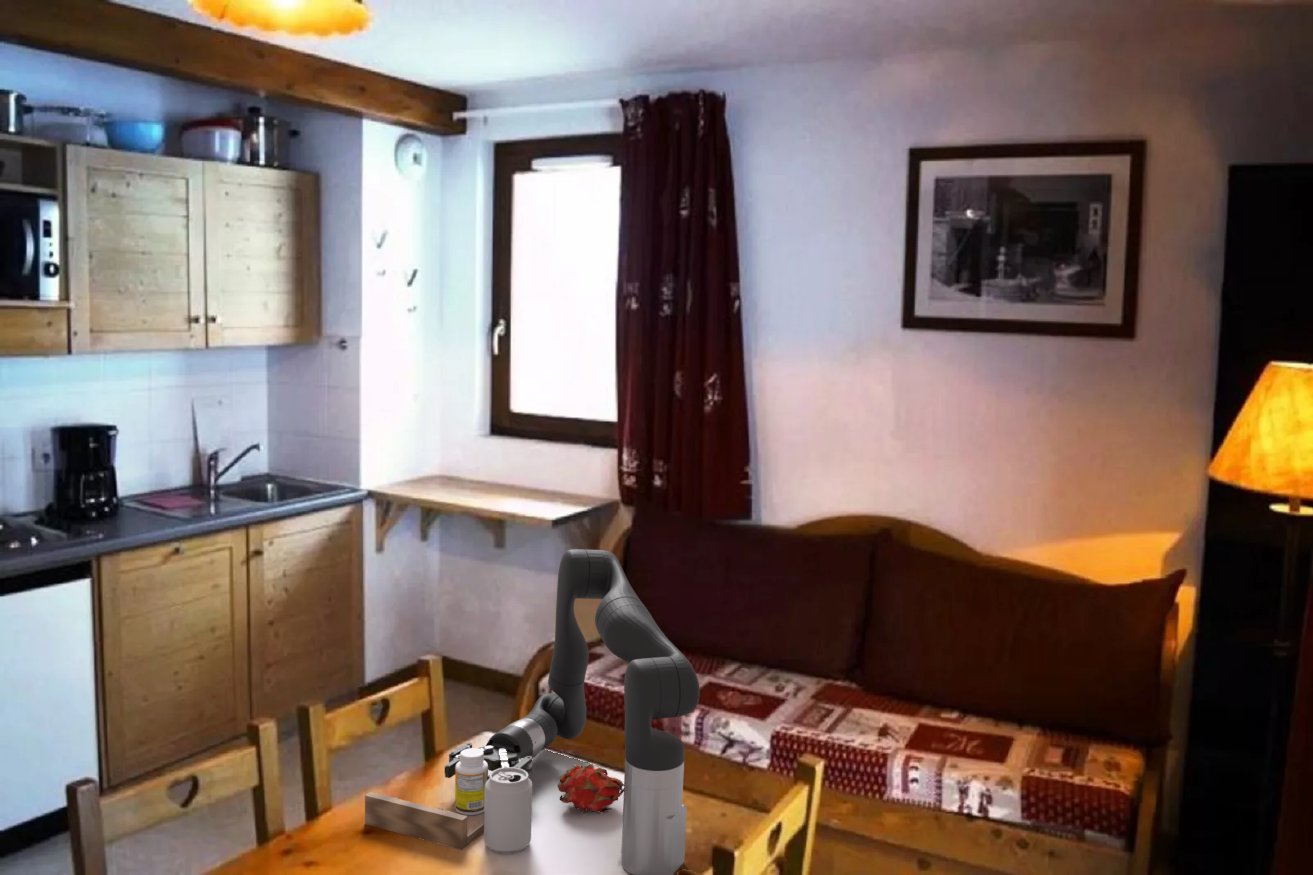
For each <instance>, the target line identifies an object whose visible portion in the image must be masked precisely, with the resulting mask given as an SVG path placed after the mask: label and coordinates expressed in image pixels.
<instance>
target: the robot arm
mask: <svg viewBox="0 0 1313 875" xmlns="http://www.w3.org/2000/svg"><path fill="white" fill-rule="evenodd" d="M557 575H558V576H557V587H556V588H557V589H556V604H555V629H554V630H555V631H554V645H553V652H552V657H551V663H550V668H549V672H548V680H547V681H548V682H547V684H548V687H549V688H550V690H551V691H552V692H553V693H552V692H551V693H549V692H547V693H544V694H542V695H540V697H539V698H538V699H537V700H536V702H535V704H534V706H533V708H532V709H530V711H529V713H528V714H527V715H525V716H524V717H522V718H520V719H519V720H516V721H513V722H512V723H509V725H506V727H504V728H503V729H501V730H499V731H498V732H496V733H494V734H493V735H492V736H491V737H490V738H489V739H488V741H487V743H486V744H485V745H482V746H480V747H478V748H477V749H480V750H482V751H483V752H484V760H485V761H486V762H487V764H488V771H489V772H493V771H494V770H496V769H500V768H505V767H515V768H520V769H523V770H525V771H526V772H527V773H528V775H529V774H530V773H531V772H533V759H534V758H536V757H537V756H538V754H539V753H541V752H542V751H543V750H544V749H546V748H547V747H548V746H550V745H551V744H553V742H554V741H555V740H556V738H557V737H560V738H563V739H564V740H569V741H570V740H574V739H576V738H577V737H578V736H580V735H581V734H582V732H583V730H584V728H585V727H586V722H587V706H586V705H587V704H586V696H585V679H586V674H587V670H588V666H589V665H588V664H589V657H590V654H589V647H588V643H587V641H586V638H585V637H584V636H585V635H584V633H583V632H582V630H581V628H580V625H579V624H578V621H577V619H576V615H575V600H576V599H583V600H586V599H589V600H601V601H600V602H599V604H598V606H597V608H596V612H595V616H594V623H595V627H596V630H597V632H598V634H599V636H600V638H601V640H602V641H603V643H604V645H605V646H606V648H607V649H608V651H609V652H610V653H611V654H613V655H614V656H615V657H617V658H619V659H620V660H622V661H624V662H626V663H628V664H627V667H626V669H625V673H624V682H623V683H624V687H623V690H624V693H623V694H624V696H623V697H624V746H625V747H624V748H625V749H624V776H623V780H624V781H623V784H624V786H623V789H624V792H623V804H622V805H623V807H622V831H621V851H620V853H621V859H620V860H621V861H620V863H621V866H622V868H623V869H624V870H625V871H626V872H628V873H629V874H631V875H673V874H675V873H676V872H677V871H678V870H679V869H680V867H681V866H682V865H683V864H684V863H685V853H686V852H685V850H686V834H687V832H686V831H687V811H688V810H687V805H686V804H684V803H683V798H684V797H683V795H684V794H683V792H684V791H683V790H684V773H685V772H684V771H685V745H684V742H683V741H682V739H681V738H680V737H678V736H677V735H675V734H673V733H671V732H667V731H664V730H661V729H658V728H655V727H652V720H660V719H671V718H679V717H683V716H687V715H689V714H691V713H692V712H694V711H695V709H696V708H697V707H698V704H699V702H700V697H701V693H700V692H701V691H700V684H699V679H698V676H697V673H696V671H695V669H694V666H693V665H692V664H691V662H690V661H689V659H688V658H687V657H686V656H685V654H683V652H681V651H680V650H679V649H678V647H676V646H675V644H674V643H673V642H672V641H670V640H669V639H668V637H667V636H666V634H665V633H664V632H663V631H662V630H661V628H660V626H658V624H657V623H656V621H655V620H654V618H653V616H652V614H651V613H650V612H649V610H648V609H647V607H646V606H645V605H644V603H643V601H641V599H640V598H639V596H638V595H637V593H636V592H635V591H634V589H633V587H632V585H631V584H630V582H629V580H628V578H627V576H626V573H625V572H624V569H623V567H622V564H621V563H620V561H619V559H618V557H617V556H616V555H615V554H614V553H613V552H611V551H608V550H603V549H582V548H581V549H577V548H575V549H572V548H571V549H567V550H566V551H565V552H564V553H563V555H562V557H561V560H560V563H559V568H558V574H557ZM469 748H473V743H471V742H466V743H464V744H462V745H460V746H459V747H457V748H455V749H453V750H452V751H449V752H448V763H447V764H445V765H444V777H445V778H446V779H447V778H448V779H451V778H452V777H454V776H455V768H456V764H457V763H458V762H459V761H460V753H461V751H463V750H465V749H469ZM489 778H490V777H489V775H488V779H489ZM683 862H684V863H683ZM676 870H677V871H676ZM675 871H676V872H675ZM674 872H675V873H674Z"/></svg>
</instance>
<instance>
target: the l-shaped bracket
mask: <svg viewBox="0 0 1313 875" xmlns="http://www.w3.org/2000/svg"><path fill="white" fill-rule="evenodd" d="M468 816H469V815H463V814H460V813H458V812H452V811H448V810H444V808H441V807H437V808H435V807H433V806H428V805H425V804H421V803H416V802H412V801H408V800H404V799H401V798H400V797H398V796H397V797H396V796H393V797H392V796H389V795H385V794H381V793H376V792H373V791H370V792H367V793H366V794H365V795H364V825H366V826H371V827H374V828H378V829H382V830H385V831H389V832H394V833H397V834H400V835H404V834H406V835H405V836H407V835H408V837H411V836H412V838H415V839H419V838H421V839H420V840H422V839H424V841H427V842H431V843H435V844H437V843H439V844H438V845H442V846H446V847H450V848H452V849H457V850H460V851H463V850H464V849H465V848H466V847H468V846H469V845H470V844H472V843H473V842H475V841H476V840H477V839H478V838H479V837H481V836H482V835H484V819H482V820H481V821H480V822H478V823H477V824H475V825H474V826H473V827H472V828H470V829H469V828H468V826H469V825H468V824H469V821H468V818H469V817H468ZM468 829H469V830H468Z"/></svg>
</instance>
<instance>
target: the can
mask: <svg viewBox="0 0 1313 875" xmlns="http://www.w3.org/2000/svg"><path fill="white" fill-rule="evenodd" d="M488 776H489V777H490V778H489V779H488V780H487V782H486V784H485V811H484V814H483V815H484V833H483V842H484V845H486V846H487V847H488V848H489V849H490V850H491V851H492V852H494V853H496V854H501V855H510V854H512V855H513V854H516V853H519V852H522V851H523V850H524V849H525V848H526V847H527V846H528V845H529V844H530V843H531V839H532V816H533V814H532V811H533V810H532V809H533V808H532V807H533V806H532V804H533V782H532V780H531V779H530V778H529V777H530V776H529V774H528V773H527V772H526V771H525V770H523V769H520V768H515V767H505V768H500V769H496V770H494V771H490V773H489V774H488Z"/></svg>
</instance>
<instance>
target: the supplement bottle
mask: <svg viewBox="0 0 1313 875" xmlns="http://www.w3.org/2000/svg"><path fill="white" fill-rule="evenodd" d="M454 776H455V778H454V780H455V781H454V782H455V783H454V785H455V786H454V790H455V792H454V796H455V798H454V808H455V810H456V813H458V814H461V815H465V816H476V815H480V814H482V813H485V784H486V782H487V780H488V776H489V770H488V764H487V762H486V761H485V760H484V752H483V751H482V750H480V749H478V748H475V747H472V748H469V749H465V750H463V751H461V753H460V761H459V762H458V763H457V764H456V768H455V775H454Z"/></svg>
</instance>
